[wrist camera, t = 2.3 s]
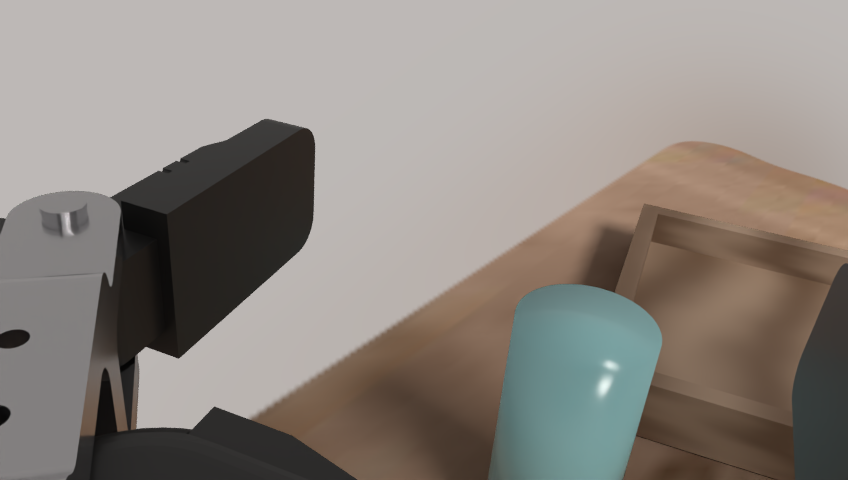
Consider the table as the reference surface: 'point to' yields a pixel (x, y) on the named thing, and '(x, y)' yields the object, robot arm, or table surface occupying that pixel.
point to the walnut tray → (725, 333)
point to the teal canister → (573, 385)
